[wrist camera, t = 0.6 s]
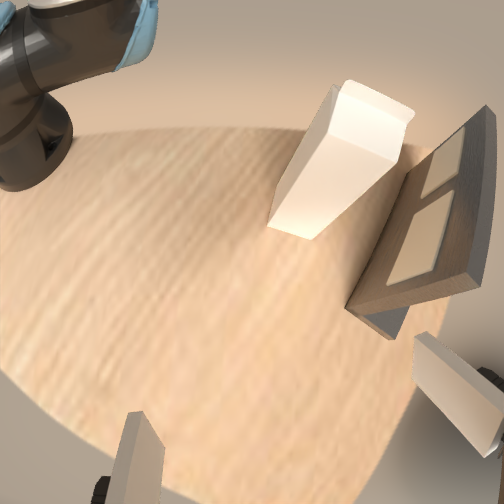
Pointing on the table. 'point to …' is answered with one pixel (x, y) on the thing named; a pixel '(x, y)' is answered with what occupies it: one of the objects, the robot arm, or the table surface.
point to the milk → (339, 158)
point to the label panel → (433, 229)
